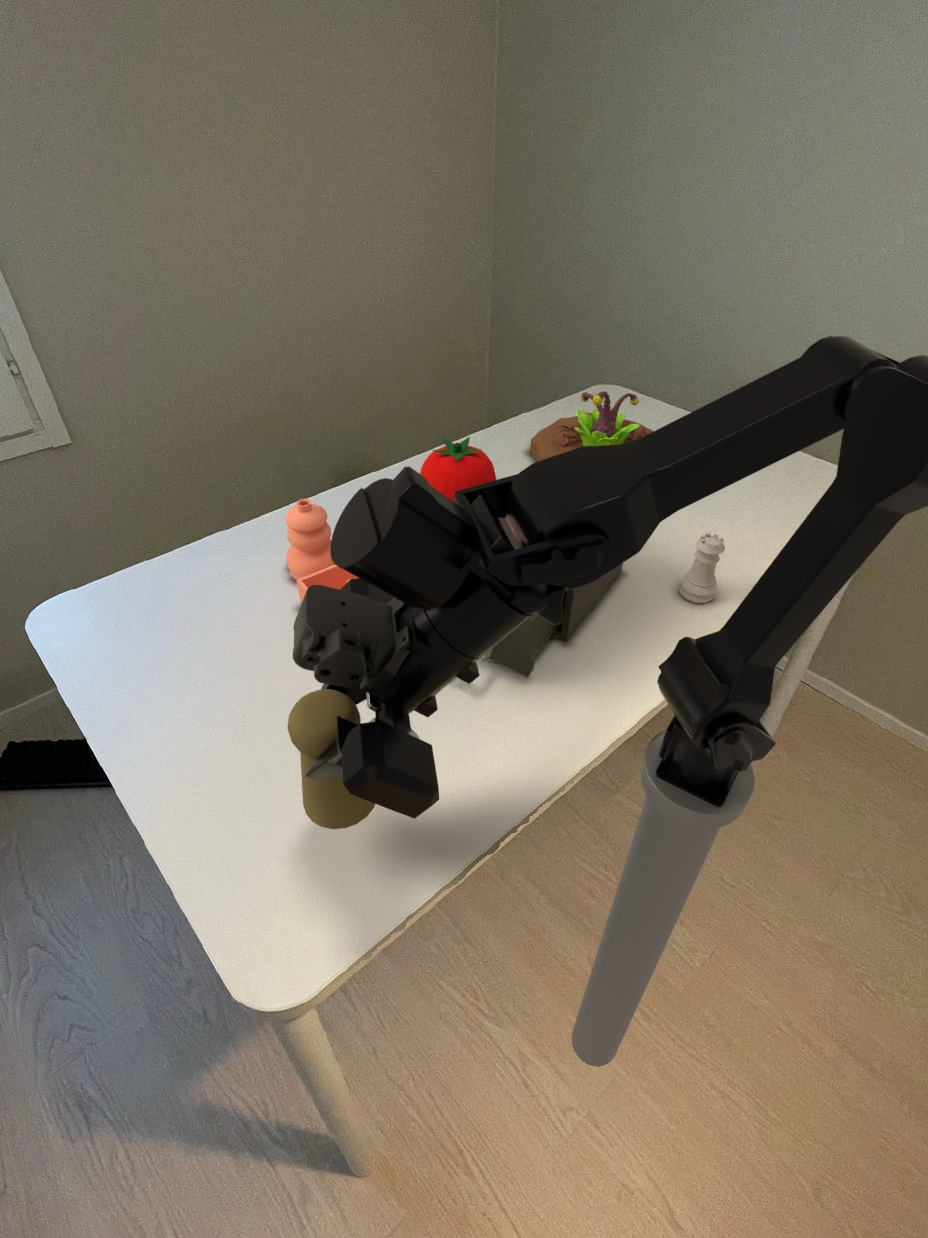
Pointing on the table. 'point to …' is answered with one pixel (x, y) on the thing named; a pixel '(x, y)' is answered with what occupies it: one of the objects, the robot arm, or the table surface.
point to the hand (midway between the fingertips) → (310, 748)
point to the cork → (312, 736)
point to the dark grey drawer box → (576, 595)
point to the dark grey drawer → (523, 644)
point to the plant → (588, 428)
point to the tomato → (457, 468)
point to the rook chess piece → (703, 570)
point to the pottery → (312, 549)
